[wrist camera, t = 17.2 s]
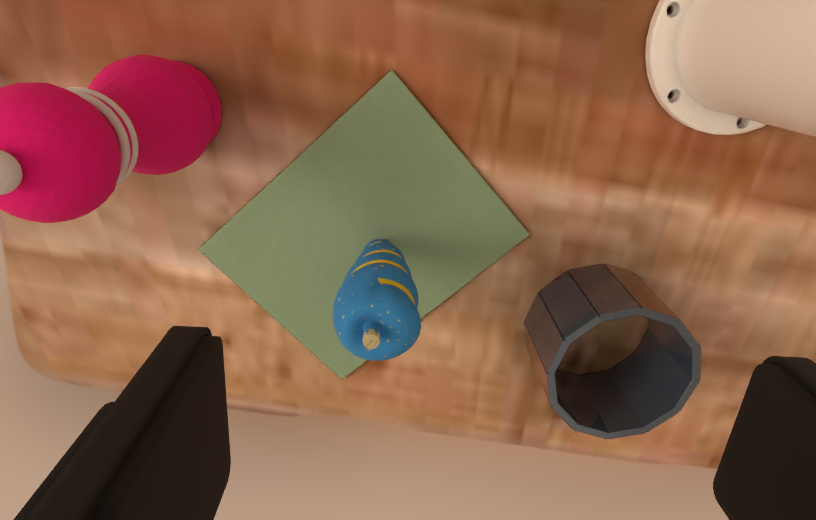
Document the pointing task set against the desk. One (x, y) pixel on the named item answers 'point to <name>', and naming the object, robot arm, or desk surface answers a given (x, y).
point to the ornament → (377, 304)
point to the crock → (627, 381)
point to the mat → (364, 218)
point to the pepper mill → (100, 134)
